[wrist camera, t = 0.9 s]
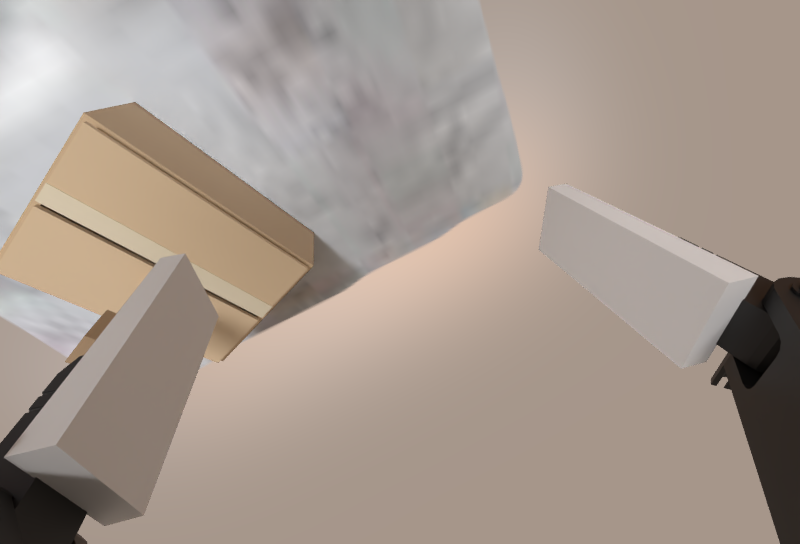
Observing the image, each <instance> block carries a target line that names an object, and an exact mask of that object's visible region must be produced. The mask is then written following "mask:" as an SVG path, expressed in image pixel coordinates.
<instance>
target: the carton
mask: <svg viewBox="0 0 800 544" xmlns="http://www.w3.org/2000/svg"><path fill="white" fill-rule="evenodd" d="M36 204H38V205H40V206H42V207H44V208H46V209H48V210H50V211H52V212H54V213H56V214H58V215H59V216H61V217H63V218H65V219H67V220H69V221H71V222H73V223H75V224H77V225H79V226H81V227H83V228H85V229H87V230H89V231H91V232H92V233H94V234H96V235H98V236H100V237H102V238H104V239H106V240H108V241H110V242H112V243H114V244H116V245H118V246H120V247H122V248H124V249H126V250H127V251H129V252H131V253H133V254H135V255H137V256H139V257H141V258H143V259H145V260H147V261H149V262H151V263H153V264H156V263H157V262H158V261H159V259H160V258H162V257H168V256H173V255H179V254H184V253H185V254H186V255H187V257H188V259H189V261H190V263H191V265H192V267H193V269H194V270H195V272H196V274H197V276H198V278H199V280H200V282H201V284H202V285H203V287H204V289H205V291H207V292H209V293H211V294H213V295H215V296H217V297H219V298H221V299H223V300H225V301H227V302H228V303H230V304H232V305H234V306H236V307H238V308H240V309H242V310H244V311H246V312H248V313H250V314H252V315H254V316H256V317H258V318H259V320H258V321H257V322H256V324H255V325H254V326H253V327H252V328H251V329H250V330H249V331H248V332H247V333H246V334H245V335H244V336H243V337H242V338H241V339H240V340H239V341H238V343H237V344H236V345H235V346H234V347H233V348H232V349H231V350H230V351H229V352H228V353H227V354H226V355H225V356H224V357H223V358H222V359H221V361H223V360H224V359H225V358H226V357H227V356H228V355H229V354H230V353H231V352H232V351H233V350H234V349H235V348H236V347H237V346H238V345H239V344H240V343H241V342H242V340H243V339H244V338H245V337H246V336H247V335H248V334H249V333H250V332H251V331H252V330H253V329H254V328H255V327H256V326H257V325H258V324H259V323H260V322H261V321H262V319H263V318H264V317H265V316H266V315H267V314H268V313H269V312H270V311H271V310H272V309H273V308H274V307H275V306H276V305H277V304H278V303H279V302H280V301H281V299H282V298H283V297H284V296H285V295H286V294H287V293H288V292H289V291H290V290H291V289H292V288H293V287H294V286H295V285H296V284H297V283H298V282H299V281H300V280H301V278H302V277H303V276H304V275H305V274H306V273H307V272H308V271H309V270H310V269H311V268H312V267H313V264H314V232H312V231H311V230H310V229H308V228H307V227H305V226H304V225H303V224H301V223H300V222H299V221H297V220H296V219H294V218H293V217H292V216H290V215H289V214H288V213H286V212H285V211H283V210H282V209H281V208H279V207H278V206H277V205H275V204H274V203H273V202H271V201H270V200H268V199H267V198H266V197H264V196H263V195H262V194H260V193H259V192H257V191H256V190H255V189H253V188H252V187H251V186H249V185H248V184H247V183H245V182H244V181H242V180H241V179H240V178H238V177H237V176H236V175H234V174H233V173H231V172H230V171H229V170H227V169H226V168H225V167H223V166H222V165H221V164H219V163H218V162H216V161H215V160H214V159H212V158H211V157H210V156H208V155H207V154H205V153H204V152H203V151H201V150H200V149H199V148H197V147H196V146H194V145H193V144H192V143H190V142H189V141H188V140H186V139H185V138H184V137H182V136H181V135H179V134H178V133H177V132H175V131H174V130H173V129H171V128H170V127H168V126H167V125H166V124H164V123H163V122H162V121H160V120H159V119H158V118H156V117H155V116H153V115H152V114H151V113H149V112H148V111H147V110H145V109H144V108H142V107H141V106H140V105H138V104H137V103H136V102H133V103H128V104H123V105H119V106H114V107H109V108H104V109H99V110H94V111H89V112H84V113H83V115H82V116H81V118H80V120H79V121H78V123H77V125H76V126H75V128H74V130H73V131H72V133H71V135H70V136H69V138H68V140H67V141H66V143H65V145H64V146H63V148H62V149H61V151H60V153H59V154H58V156H57V158H56V159H55V161H54V163H53V164H52V166H51V168H50V169H49V171H48V173H47V174H46V176H45V178H44V179H43V181H42V183H41V184H40V186H39V188H38V189H37V191H36V193H35V194H34V196H33V198H32V199H31V201H30V203H29V204H28V206H27V208H26V209H25V211H24V212H23V214H22V216H21V217H20V219H19V221H18V222H17V224H16V226H15V227H14V229H13V231H12V232H11V234H10V236H9V237H8V239H7V241H6V242H5V244H4V246H3V247H2V249H1V251H0V260H1V258H2V257H3V255H4V254H5V252H6V250H7V249H8V247H9V245H10V244H11V242H12V240H13V239H14V237H15V236H16V234H17V232H18V231H19V229H20V227H21V226H22V224H23V222H24V221H25V219H26V217H27V216H28V214H29V213H30V211H31V209H32V208H33V206H34V205H36Z"/></svg>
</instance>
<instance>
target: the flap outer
mask: <svg viewBox="0 0 800 544" xmlns="http://www.w3.org/2000/svg"><path fill="white" fill-rule="evenodd" d="M154 266H155V264H153V263H151V262H149V261H147V260H145V259H143V258H141V257H139V256H137V255H135V254H133V253H131V252H129V251H127V250H126V249H124V248H122V247H120V246H118V245H116V244H114V243H112V242H110V241H108V240H106V239H104V238H102V237H100V236H98V235H96V234H94V233H92V232H91V231H89V230H87V229H85V228H83V227H81V226H79V225H77V224H75V223H73V222H71V221H69V220H67V219H65V218H63V217H61V216H59V215H58V214H56V213H54V212H52V211H50V210H48V209H46V208H44V207H42V206H40V205H38V204H36V205H34V206H33V208H32V209H31V211H30V213H29V214H28V216H27V217H26V219H25V221H24V222H23V224H22V226H21V227H20V229H19V231H18V232H17V234H16V236H15V237H14V239H13V240H12V242H11V244H10V245H9V247H8V249H7V250H6V252H5V254H4V255H3V257H2V258H1V260H0V274H2V275H4V276H6V277H9V278H11V279H14V280H16V281H19V282H21V283H24V284H26V285H28V286H31V287H33V288H36V289H38V290H41V291H43V292H46V293H48V294H50V295H53V296H55V297H58V298H60V299H63V300H65V301H68V302H70V303H72V304H75V305H77V306H80V307H82V308H85V309H87V310H90V311H92V312H94V313H97V314H99V315H102V316H101V317H100V318H99V320H98V321H97V322H96V323H95V324H94V325H93V327H92V328H91V329H90V330H89V331H88V333H87V334H86V335H85V336H84V337H83V339H82V340H81V341H80V343H79V344H78V345H77V347H76V348H75V349H74V350H73V352H72V353H71V354H70V356H69V357H68V358H67V360H66V361H65V362H67V363H70V364H71V363H72V362H73V361H74V360H76V359H77V358H78V357H79V356H82V355H85V353H86V352H87V351H88V350H89V348H90V347H91V346H92V345H93V343H94V342H95V341H96V339H97V338H98V337H99V336H100V334H101V333H102V332H103V331H104V329H105V328H106V327H107V325H108V324H109V323H110V322H111V320H112V319H113V318H114V317H115V315H116V314H117V313H118V311H119V310H120V309H121V308H122V306H123V305H124V304H125V303H126V301H127V300H128V299H129V297H130V296H131V295H132V294H133V292H134V291H135V290H136V289H137V287H138V286H139V285H140V284H141V282H142V281H143V280H144V278H145V277H146V276H147V275H148V273H149V272H150V271H151V270H152V268H153V267H154ZM206 293H207V295H208V297H209V299H210V301H211V302H212V304H213V306H214V308H215V310H216V312H217V314H218V316H219V317H218V320H217V322H216V325H215V328H214V330H213V333H212V336H211V338H210V341H209V343H208V346H207V349H206V351H205V354H204V358H207V359H209V360H212V361H214V362H217V363H219V362H220V360H221V359H222V358H223V357H224V356H225V355H226V354H227V353H228V352H229V351H230V350H231V349H232V348H233V347H234V346H235V345H236V344H237V343H238V341H239V340H240V339H241V338H242V337H243V336H244V335H245V334H246V333H247V332H248V331H249V330H250V329H251V328H252V327H253V326H254V325H255V324H256V322H257V321H258V320H259V318H258V317H256V316H254V315H252V314H250V313H248V312H246V311H244V310H242V309H240V308H238V307H236V306H234V305H232V304H230V303H228V302H227V301H225V300H223V299H221V298H219V297H217V296H215V295H213V294H211V293H209V292H207V291H206Z"/></svg>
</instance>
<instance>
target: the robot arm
mask: <svg viewBox="0 0 800 544" xmlns="http://www.w3.org/2000/svg"><path fill="white" fill-rule="evenodd" d="M539 250H540V251H541V252H542V253H543V254H545V255H546V256H547V257H548V258H549V259H550V260H552V261H553V262H554V263H555V264H557V265H558V266H559V267H560V268H561V269H562V270H564V271H565V272H566V273H567V274H569V275H570V276H571V277H572V278H573V279H574V280H576V281H577V282H578V283H579V284H581V285H582V286H583V287H584V288H585V289H587V290H588V291H589V292H590V293H591V294H592V295H594V296H595V297H596V298H597V299H598V300H600V301H601V302H602V303H603V304H604V305H606V306H607V307H608V308H609V309H610V310H612V311H613V312H614V313H615V314H616V315H618V316H619V317H620V318H621V319H622V320H624V321H625V322H626V323H627V324H628V325H630V326H631V327H632V328H633V329H634V330H636V331H637V332H638V333H639V334H640V335H642V336H643V337H644V338H645V339H646V340H648V341H649V342H650V343H651V344H652V345H654V346H655V347H656V348H657V349H658V350H660V351H661V352H662V353H663V354H664V355H666V356H667V357H668V358H669V359H670V360H672V361H673V362H674V363H675V364H676V365H677V366H679V367H680V368H681V369H682V368H685V367H689V366H692V365H696V364H700V363H703V362H706V361H707V360H708V358H709V356H710V355H711V353H712V352H713V350H714V348H715V346H716V345H719V346H720V347H721V348H723V349H724V350H726V351H727V352H728V353H727V355H726V357H725V358H724V360H723V361H722V363H721V364H720V366H719V367H718V369H717V371H716V372H715V374H714V375H713V377H712V378H711V385H715V386H716V385H717V384H718V383H719V381H720V380H721V378H722V377H727V378H728V382H727V383H726V385H725V386H724V388H726V389H730V390H732V393H733V396H734V400H735V402H736V406H737V409H738V412H739V416H740V419H741V422H742V425H743V428H744V431H745V434H746V438H747V441H748V444H749V447H750V450H751V453H752V456H753V460H754V463H755V466H756V469H757V472H758V475H759V478H760V482H761V485H762V488H763V491H764V494H765V497H766V500H767V504H768V507H769V510H770V513H771V516H772V519H773V522H774V525H775V529H776V532H777V535H778V538H779V541H780V544H800V278H795V277H787V278H780V279H778V280H776V281H775V282H773V281H770V280H768V279H766V278H764V277H762V276H760V275H758V274H756V273H754V272H752V271H749V270H747V269H745V268H743V267H741V266H739V265H737V264H735V263H733V262H731V261H729V260H726V259H724V258H722V257H720V256H718V255H714V254H713V253H712V252H710V251H708V250H706V249H703V248H699V246H697V245H695V244H693V243H691V242H689V241H687V240H685V239H682V238H679V237H676V236H674V235H672V234H670V233H668V232H666V231H664V230H662V229H660V228H658V227H656V226H654V225H652V224H649V223H647V222H645V221H643V220H641V219H639V218H637V217H635V216H633V215H631V214H629V213H627V212H624V211H622V210H620V209H618V208H616V207H614V206H612V205H610V204H608V203H606V202H603V201H602V200H599V199H597V198H595V197H593V196H591V195H589V194H587V193H585V192H583V191H581V190H579V189H577V188H574V187H572V186H570V185H568V184H562V185H557V186H551V187H548V193H547V200H546V206H545V212H544V219H543V226H542V232H541V238H540V245H539ZM218 317H219V316H218V314H217V312H216V310H215V308H214V306H213V304H212V302H211V301H210V299H209V297H208V295H207V293H206V291H205V289H204V287H203V285H202V284H201V282H200V280H199V278H198V276H197V274H196V272H195V270H194V269H193V267H192V265H191V263H190V261H189V259H188V257H187V255H186V254H185V253H184V254H179V255H173V256H168V257H162V258H160V259H159V261H158V262H157V263H156V264H155V266H154V267H153V268H152V270H151V271H150V272H149V273H148V275H147V276H146V277H145V278H144V280H143V281H142V282H141V284H140V285H139V286H138V287H137V289H136V290H135V291H134V292H133V294H132V295H131V296H130V297H129V299H128V300H127V301H126V303H125V304H124V305H123V306H122V308H121V309H120V310H119V311H118V313H117V314H116V315H115V317H114V318H113V319H112V320H111V322H110V323H109V324H108V325H107V327H106V328H105V329H104V331H103V332H102V333H101V334H100V336H99V337H98V338H97V339H96V341H95V342H94V343H93V345H92V346H91V347H90V348H89V350H88V351H87V352H86V353H85V355H82V356H79V357H78V358H77V359H76V360H74V361H73V362H72V363H71V364H69V365H68V366H67V367H66V368H64V369H63V370H62V371H61V372H60V373H58V374H57V376H56V377H55V378H54V379H53V380H52V381H51V383H50V384H49V385H48V386H47V388H46V389H45V390H44V391H43V392H42V394H43V395H42V396H40V397H38V399H37V400H36V401H35V402H34V403H33V405H32V406H31V407H30V408H29V413H25V414H24V415H23V417H22V418H21V419H20V420H19V422H18V423H17V424H16V425H15V426H14V428H13V429H12V430H11V431H10V432H9V434H8V435H7V436H6V437H5V438H4V440H3V441H2V442H1V443H0V544H87V541H86V540H85V539H84V538H82V536H80V535H79V534H77V532H78V530H79V528H80V526H81V524H82V522H83V520H84V518H85V516H86V514H87V515H89V516H90V517H92V518H93V519H95V520H96V521H98V522H99V523H101V524H102V525H104V526H106V525H110V524H113V523H117V522H121V521H125V520H129V519H132V518H136V517H139V516H143V515H144V513H145V511H146V508H147V505H148V503H149V500H150V497H151V495H152V492H153V489H154V487H155V484H156V481H157V479H158V476H159V474H160V471H161V468H162V465H163V463H164V460H165V458H166V455H167V452H168V450H169V447H170V444H171V442H172V439H173V436H174V434H175V431H176V428H177V426H178V423H179V420H180V418H181V415H182V412H183V410H184V407H185V404H186V402H187V399H188V396H189V394H190V391H191V389H192V386H193V383H194V381H195V378H196V375H197V373H198V370H199V367H200V365H201V362H202V359H203V357H204V354H205V351H206V349H207V346H208V343H209V341H210V338H211V336H212V333H213V330H214V328H215V325H216V322H217V320H218Z"/></svg>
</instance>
